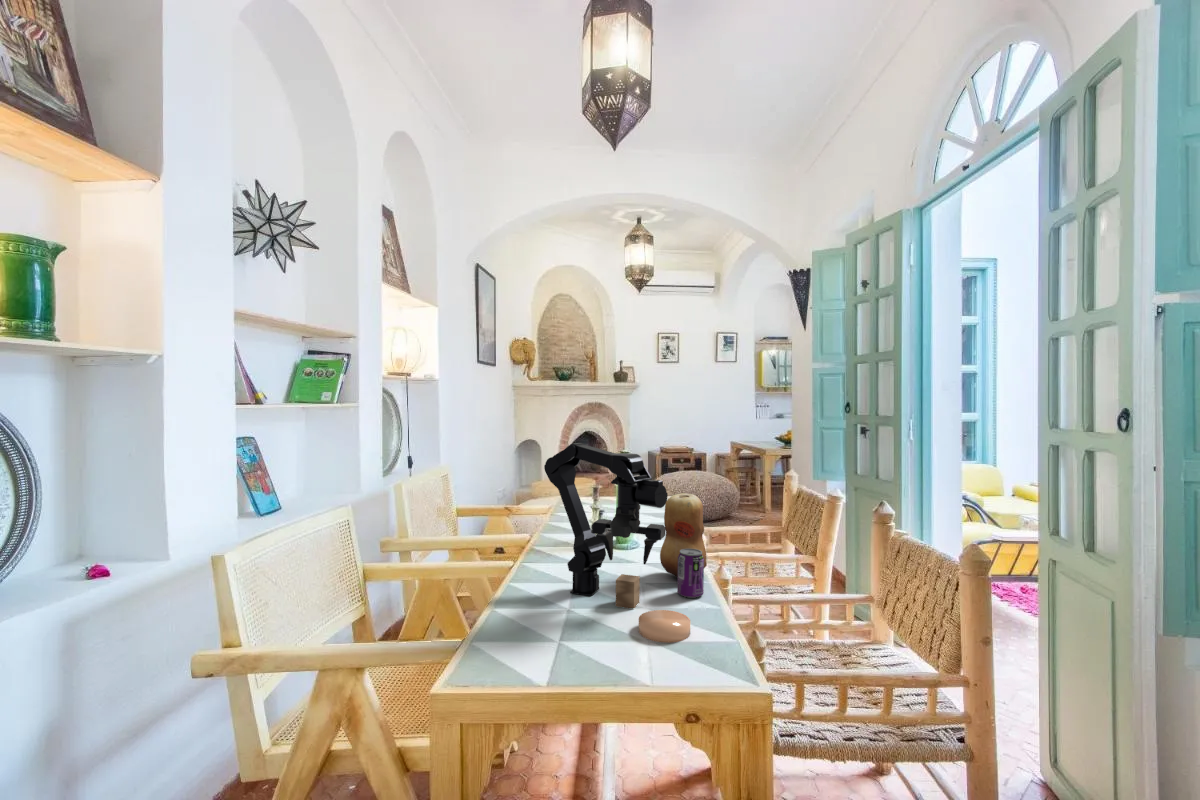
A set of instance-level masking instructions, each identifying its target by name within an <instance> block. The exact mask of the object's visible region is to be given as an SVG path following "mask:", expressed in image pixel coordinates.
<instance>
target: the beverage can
mask: <svg viewBox="0 0 1200 800" xmlns="http://www.w3.org/2000/svg"><path fill="white" fill-rule="evenodd" d="M704 570H705V568H704V558H703V556H702V551H700V550H697V549H682V550H680V554H679V556H678V578H677V585H676V586H677V587H676V588H677V594H679V595H680V596H682V597H683V596H684V598H686V597H687V599H696V597H697V598H699V597H700V596H703V595H704V592H705V589H704V586H705V582H704V580H705V579H704V576H705V575H704V573H705V572H704Z"/></svg>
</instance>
